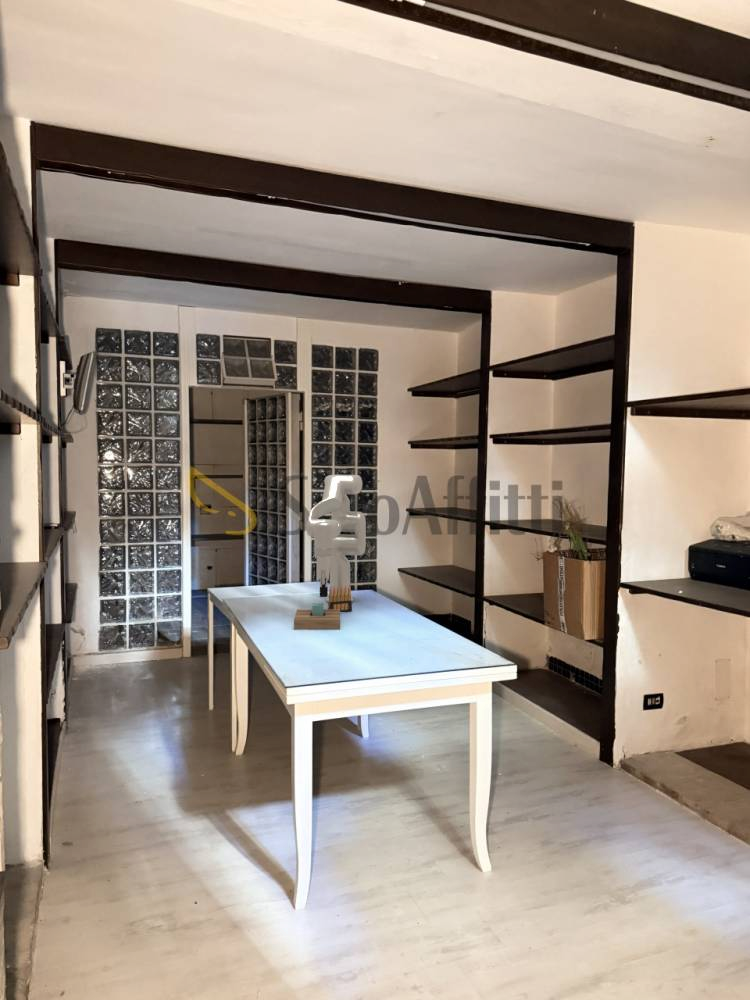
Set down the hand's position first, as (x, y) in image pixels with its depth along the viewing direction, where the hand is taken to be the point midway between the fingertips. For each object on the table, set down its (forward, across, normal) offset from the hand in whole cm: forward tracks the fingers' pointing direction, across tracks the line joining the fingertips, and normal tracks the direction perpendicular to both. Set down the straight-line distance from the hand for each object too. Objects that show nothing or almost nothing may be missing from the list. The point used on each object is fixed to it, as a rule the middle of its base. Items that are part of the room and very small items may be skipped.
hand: (323, 596), depth 276 cm
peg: (+11, +3, -2) cm, 11 cm away
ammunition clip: (+12, -18, +6) cm, 22 cm away
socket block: (+10, +3, -2) cm, 11 cm away
